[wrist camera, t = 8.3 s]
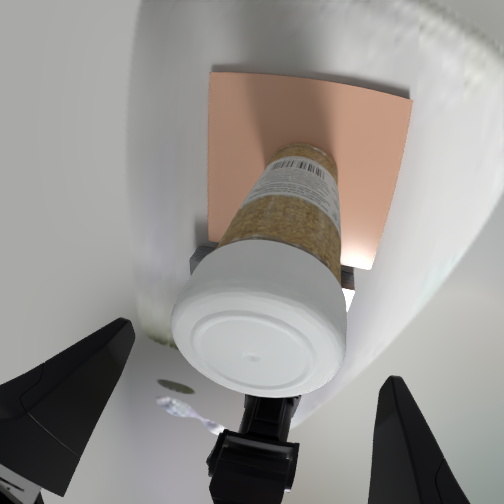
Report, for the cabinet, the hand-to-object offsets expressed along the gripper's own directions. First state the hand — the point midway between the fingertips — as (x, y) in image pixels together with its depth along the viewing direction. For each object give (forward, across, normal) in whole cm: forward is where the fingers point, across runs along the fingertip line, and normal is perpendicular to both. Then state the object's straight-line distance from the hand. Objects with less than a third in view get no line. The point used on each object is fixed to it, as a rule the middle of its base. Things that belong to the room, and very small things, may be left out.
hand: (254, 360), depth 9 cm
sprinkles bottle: (+12, 0, -2) cm, 12 cm away
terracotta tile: (+13, 0, -2) cm, 13 cm away
